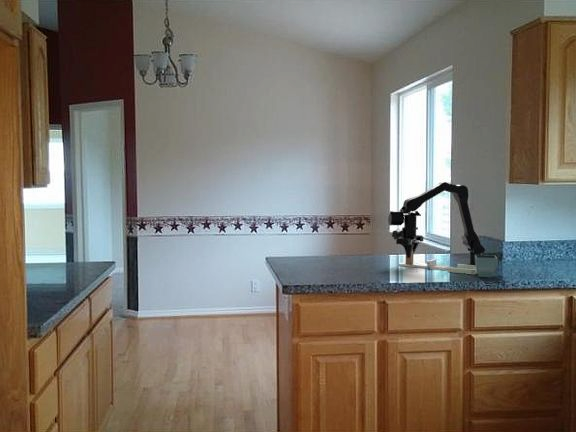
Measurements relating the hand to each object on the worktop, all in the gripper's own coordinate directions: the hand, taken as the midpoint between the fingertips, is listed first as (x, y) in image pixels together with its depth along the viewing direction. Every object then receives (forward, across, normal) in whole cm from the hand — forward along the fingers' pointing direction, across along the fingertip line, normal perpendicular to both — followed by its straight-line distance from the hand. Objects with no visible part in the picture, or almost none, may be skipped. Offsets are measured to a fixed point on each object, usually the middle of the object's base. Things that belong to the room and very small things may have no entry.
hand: (409, 257), depth 304 cm
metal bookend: (+4, 0, +4) cm, 6 cm away
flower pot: (+4, +9, +40) cm, 41 cm away
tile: (+4, 0, +15) cm, 16 cm away
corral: (+4, 0, +27) cm, 27 cm away
